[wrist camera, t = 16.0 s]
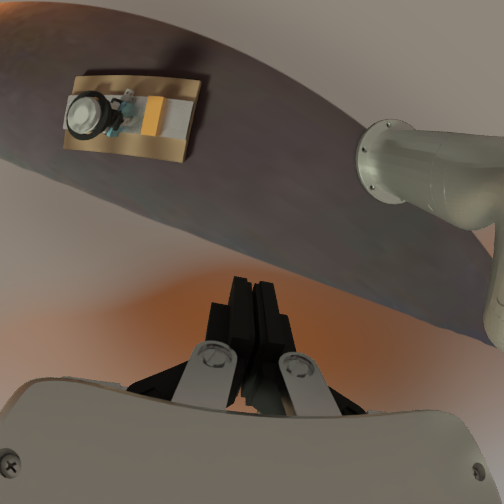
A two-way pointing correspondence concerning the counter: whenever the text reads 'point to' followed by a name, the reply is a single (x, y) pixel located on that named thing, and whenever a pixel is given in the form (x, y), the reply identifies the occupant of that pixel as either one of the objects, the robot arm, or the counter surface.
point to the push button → (98, 115)
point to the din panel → (131, 141)
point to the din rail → (172, 121)
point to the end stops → (152, 115)
